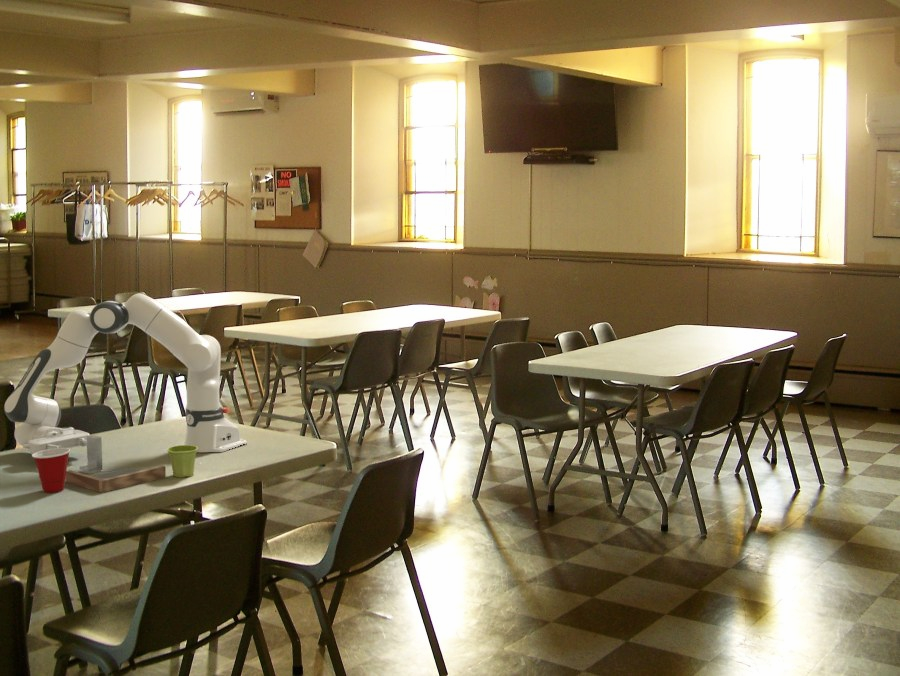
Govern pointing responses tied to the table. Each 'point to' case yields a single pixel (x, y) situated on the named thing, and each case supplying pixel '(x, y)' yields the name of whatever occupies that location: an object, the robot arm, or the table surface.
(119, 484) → the corner walls
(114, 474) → the felt mat
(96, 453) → the steel bookend
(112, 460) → the table surface
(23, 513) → the table surface
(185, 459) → the plant pot
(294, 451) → the table surface
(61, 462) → the plastic cup
